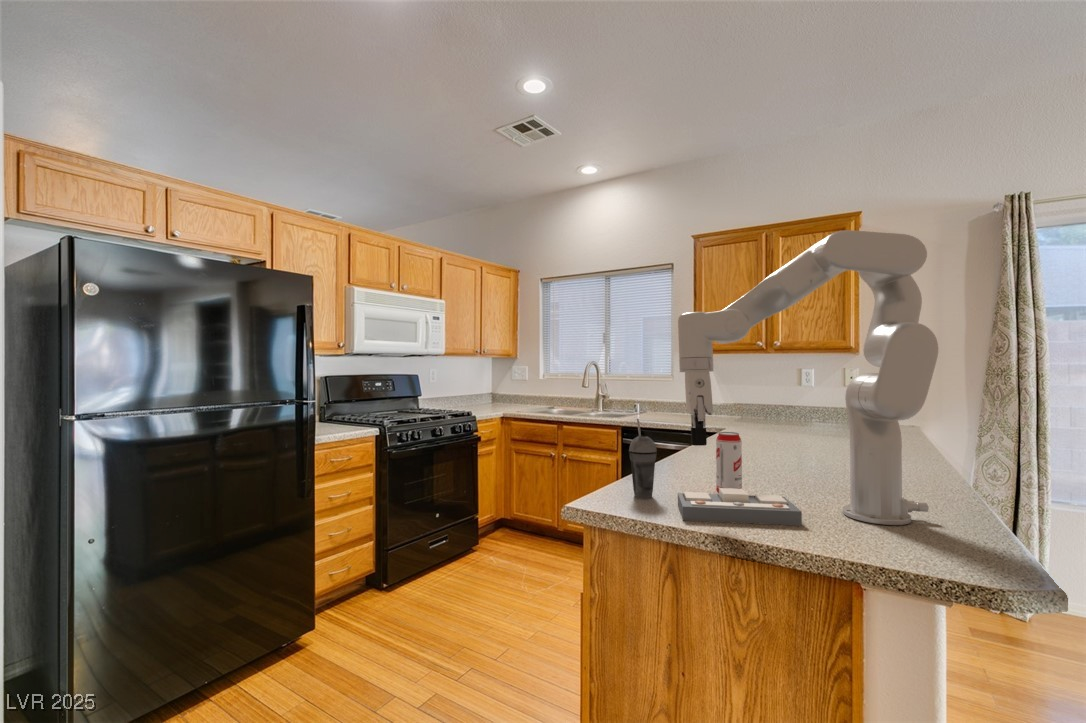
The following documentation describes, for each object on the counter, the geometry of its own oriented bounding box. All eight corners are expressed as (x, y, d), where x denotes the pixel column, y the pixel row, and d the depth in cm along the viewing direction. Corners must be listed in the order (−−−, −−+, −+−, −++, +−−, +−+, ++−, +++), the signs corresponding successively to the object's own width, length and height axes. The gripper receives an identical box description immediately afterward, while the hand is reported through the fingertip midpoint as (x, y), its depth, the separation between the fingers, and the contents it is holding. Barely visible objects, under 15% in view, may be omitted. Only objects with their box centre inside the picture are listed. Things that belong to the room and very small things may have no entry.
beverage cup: (660, 500, 125) (659, 420, 125) (631, 500, 125) (630, 420, 125) (654, 492, 132) (653, 417, 132) (626, 492, 132) (626, 417, 132)
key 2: (780, 508, 115) (779, 495, 115) (787, 515, 110) (787, 501, 110) (755, 507, 116) (755, 494, 116) (761, 514, 111) (761, 500, 111)
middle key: (743, 501, 116) (743, 488, 116) (748, 508, 111) (748, 494, 111) (719, 500, 117) (718, 487, 117) (723, 507, 112) (723, 493, 112)
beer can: (744, 493, 130) (743, 432, 131) (739, 499, 125) (738, 435, 125) (719, 490, 134) (719, 431, 134) (713, 496, 129) (713, 433, 129)
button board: (784, 509, 116) (784, 494, 116) (801, 525, 104) (801, 509, 104) (677, 505, 120) (677, 490, 120) (682, 520, 108) (682, 504, 108)
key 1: (707, 505, 118) (707, 492, 118) (711, 512, 112) (711, 498, 112) (683, 504, 119) (683, 491, 119) (686, 510, 113) (686, 497, 113)
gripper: (718, 365, 108) (721, 450, 108) (708, 365, 123) (710, 440, 122) (682, 366, 109) (685, 450, 109) (676, 366, 124) (679, 440, 124)
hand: (699, 444), depth 116 cm, fingers closed
